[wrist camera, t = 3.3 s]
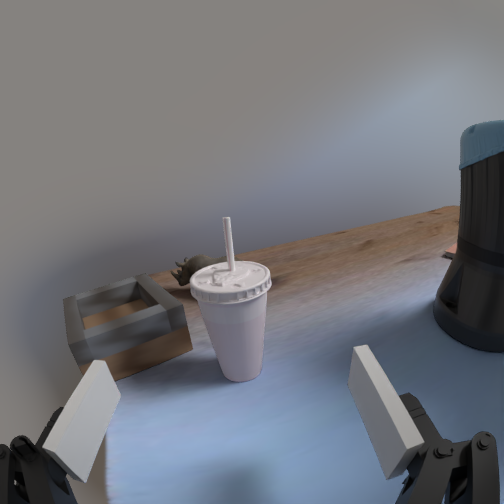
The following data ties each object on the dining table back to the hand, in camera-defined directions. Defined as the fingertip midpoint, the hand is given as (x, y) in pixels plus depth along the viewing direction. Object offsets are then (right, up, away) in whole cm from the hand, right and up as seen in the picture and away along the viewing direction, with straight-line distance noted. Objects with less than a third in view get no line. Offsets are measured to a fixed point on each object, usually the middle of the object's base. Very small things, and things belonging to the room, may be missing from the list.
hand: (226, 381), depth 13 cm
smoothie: (0, -5, +12) cm, 13 cm away
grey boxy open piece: (-13, -4, +16) cm, 21 cm away
